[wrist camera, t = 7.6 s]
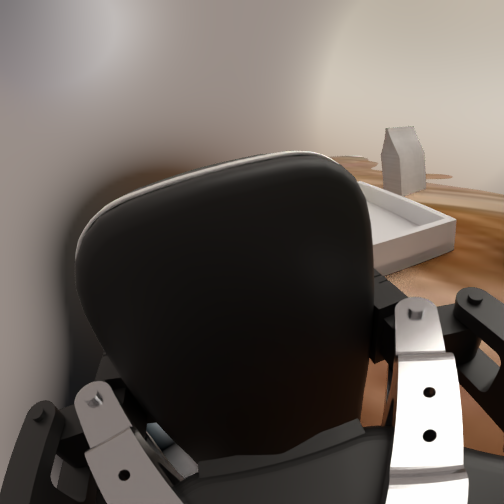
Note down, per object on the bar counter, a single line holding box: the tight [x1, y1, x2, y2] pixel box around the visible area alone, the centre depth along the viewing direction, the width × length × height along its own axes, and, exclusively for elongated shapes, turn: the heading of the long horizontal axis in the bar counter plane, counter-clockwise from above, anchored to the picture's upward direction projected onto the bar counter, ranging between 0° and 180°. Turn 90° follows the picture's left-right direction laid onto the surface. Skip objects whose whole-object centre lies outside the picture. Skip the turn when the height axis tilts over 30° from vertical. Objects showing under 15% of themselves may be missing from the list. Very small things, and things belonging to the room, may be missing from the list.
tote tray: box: [358, 181, 456, 276], centre depth 29 cm, size 18×18×3 cm
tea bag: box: [381, 126, 426, 197], centre depth 38 cm, size 4×7×10 cm, turn 113°
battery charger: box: [75, 151, 374, 464], centre depth 9 cm, size 7×4×11 cm, turn 107°
